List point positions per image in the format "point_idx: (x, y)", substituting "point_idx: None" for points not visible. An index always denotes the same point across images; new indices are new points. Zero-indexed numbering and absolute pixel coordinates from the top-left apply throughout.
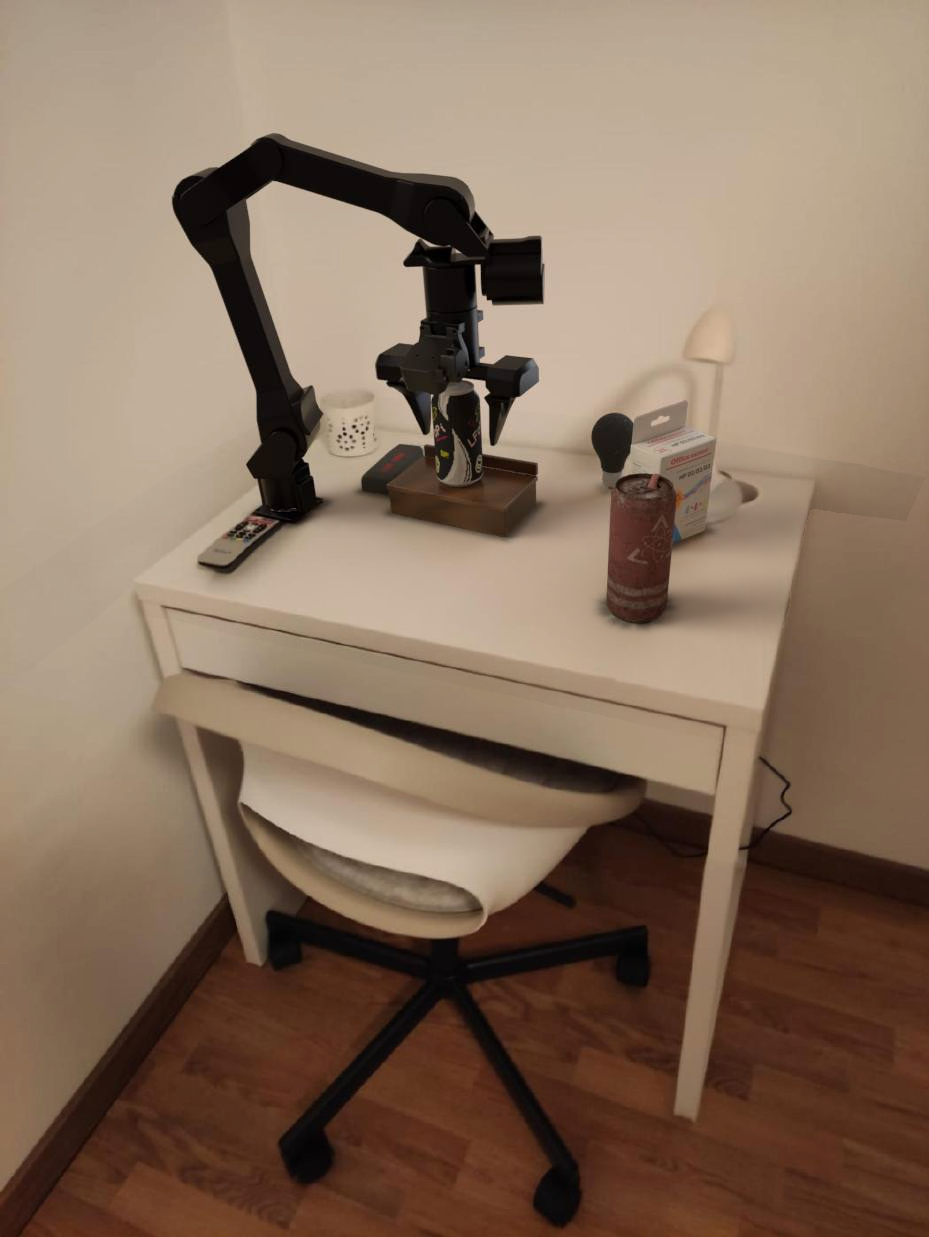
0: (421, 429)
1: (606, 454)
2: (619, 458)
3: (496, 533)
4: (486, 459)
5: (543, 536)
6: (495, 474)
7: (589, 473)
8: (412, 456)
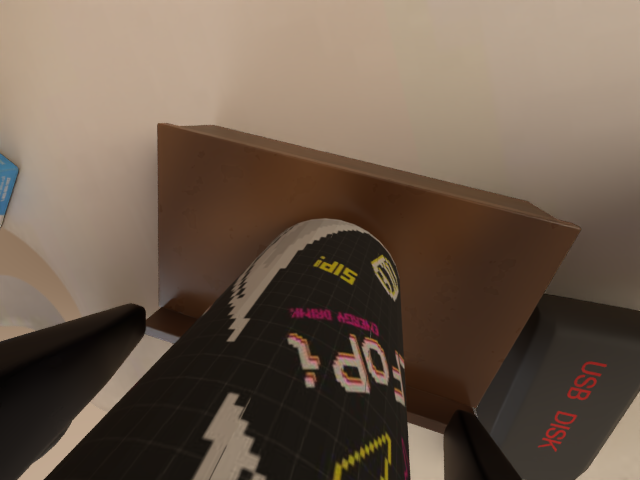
0: (487, 437)
1: None
2: None
3: (229, 129)
4: None
5: (144, 146)
6: None
7: None
8: (514, 432)
